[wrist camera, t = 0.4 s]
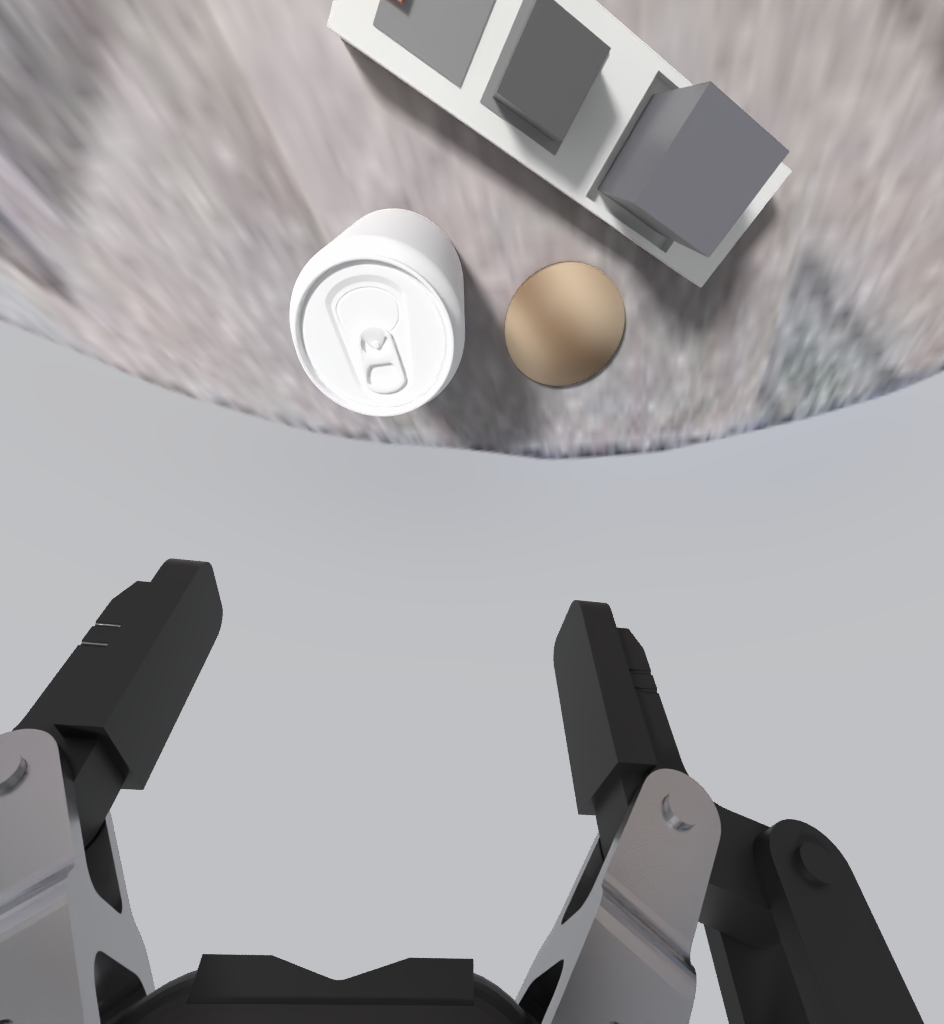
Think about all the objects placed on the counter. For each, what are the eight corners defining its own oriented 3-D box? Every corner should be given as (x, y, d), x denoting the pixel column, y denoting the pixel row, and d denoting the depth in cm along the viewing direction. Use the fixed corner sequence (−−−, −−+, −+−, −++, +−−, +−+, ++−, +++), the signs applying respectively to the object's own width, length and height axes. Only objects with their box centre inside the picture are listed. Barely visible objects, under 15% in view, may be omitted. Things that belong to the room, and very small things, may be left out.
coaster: (547, 235, 30) (548, 237, 29) (647, 301, 32) (650, 303, 32) (483, 350, 34) (483, 353, 33) (575, 400, 36) (577, 403, 36)
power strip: (316, -212, 20) (270, -324, 15) (763, 167, 28) (826, 174, 23) (274, -9, 23) (226, -47, 18) (682, 276, 31) (722, 301, 26)
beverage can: (453, 197, 28) (451, 227, 19) (470, 336, 33) (475, 415, 24) (319, 217, 29) (250, 256, 19) (355, 351, 34) (314, 434, 24)
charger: (653, 94, 24) (710, 81, 19) (718, 149, 26) (790, 152, 20) (597, 189, 26) (633, 202, 21) (660, 234, 28) (710, 258, 22)
